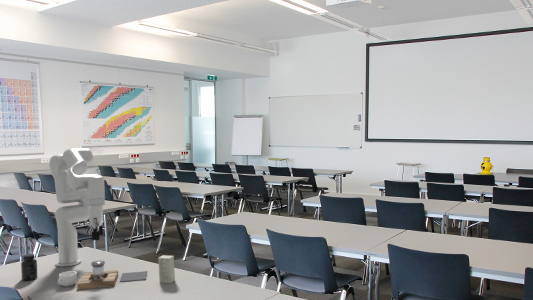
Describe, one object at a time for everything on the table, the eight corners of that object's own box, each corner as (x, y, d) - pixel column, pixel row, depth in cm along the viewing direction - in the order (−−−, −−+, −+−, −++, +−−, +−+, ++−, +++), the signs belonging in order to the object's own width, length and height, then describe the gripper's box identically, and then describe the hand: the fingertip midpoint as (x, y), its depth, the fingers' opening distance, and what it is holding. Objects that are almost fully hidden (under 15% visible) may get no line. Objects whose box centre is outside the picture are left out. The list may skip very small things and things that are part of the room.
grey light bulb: (93, 280, 207) (92, 260, 206) (106, 279, 208) (105, 260, 207) (90, 284, 201) (90, 264, 200) (104, 283, 202) (103, 263, 202)
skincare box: (175, 280, 205) (174, 255, 204) (170, 283, 201) (170, 258, 200) (163, 279, 207) (162, 254, 206) (158, 282, 202) (158, 257, 202)
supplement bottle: (19, 279, 209) (18, 255, 209) (34, 275, 214) (33, 252, 214) (24, 282, 205) (23, 257, 204) (39, 278, 210) (38, 254, 209)
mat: (122, 273, 215) (122, 273, 215) (147, 271, 218) (147, 271, 218) (119, 282, 204) (119, 281, 204) (145, 279, 206) (145, 279, 206)
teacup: (67, 281, 206) (67, 270, 206) (80, 282, 203) (80, 271, 203) (51, 288, 196) (51, 277, 196) (64, 290, 194) (64, 278, 194)
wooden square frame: (84, 277, 210) (83, 272, 210) (118, 274, 214) (118, 269, 214) (77, 289, 195) (77, 283, 195) (114, 286, 198) (113, 280, 198)
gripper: (91, 199, 210) (92, 233, 211) (84, 205, 193) (85, 242, 194) (107, 198, 212) (108, 232, 212) (102, 204, 195) (103, 241, 196)
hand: (97, 237), depth 203 cm, fingers open, 9 cm apart
